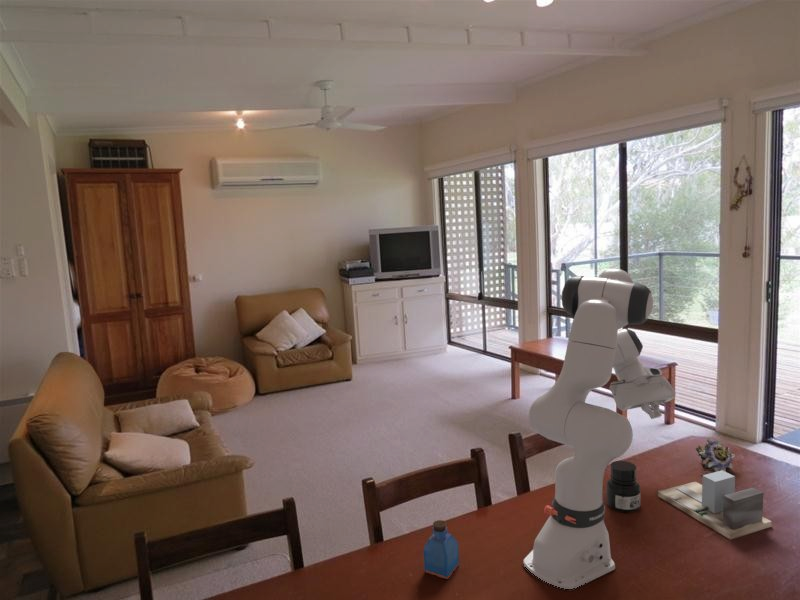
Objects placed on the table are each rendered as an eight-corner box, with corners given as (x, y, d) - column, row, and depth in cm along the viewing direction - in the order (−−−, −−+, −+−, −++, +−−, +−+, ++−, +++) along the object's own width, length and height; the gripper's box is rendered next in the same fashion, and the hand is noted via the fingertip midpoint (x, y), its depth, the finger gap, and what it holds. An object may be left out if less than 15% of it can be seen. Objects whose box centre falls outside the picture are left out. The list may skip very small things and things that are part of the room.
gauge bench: (658, 496, 163) (658, 465, 161) (695, 486, 167) (695, 456, 165) (730, 539, 140) (731, 504, 139) (771, 526, 144) (772, 492, 143)
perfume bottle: (447, 580, 131) (445, 533, 129) (424, 572, 134) (422, 527, 132) (459, 565, 136) (457, 520, 134) (436, 558, 139) (434, 514, 138)
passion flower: (721, 489, 174) (713, 468, 168) (690, 470, 183) (682, 449, 177) (744, 465, 176) (737, 443, 170) (713, 447, 185) (705, 425, 179)
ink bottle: (620, 516, 153) (620, 476, 151) (598, 502, 161) (598, 463, 159) (648, 508, 156) (648, 468, 154) (626, 494, 164) (626, 456, 163)
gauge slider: (690, 509, 151) (691, 478, 149) (721, 500, 154) (722, 470, 153) (707, 519, 146) (708, 487, 144) (738, 510, 149) (740, 478, 148)
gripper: (611, 378, 171) (634, 418, 164) (664, 368, 178) (688, 407, 170) (602, 387, 176) (623, 427, 169) (653, 378, 183) (676, 416, 175)
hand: (656, 417), depth 169 cm, fingers closed
